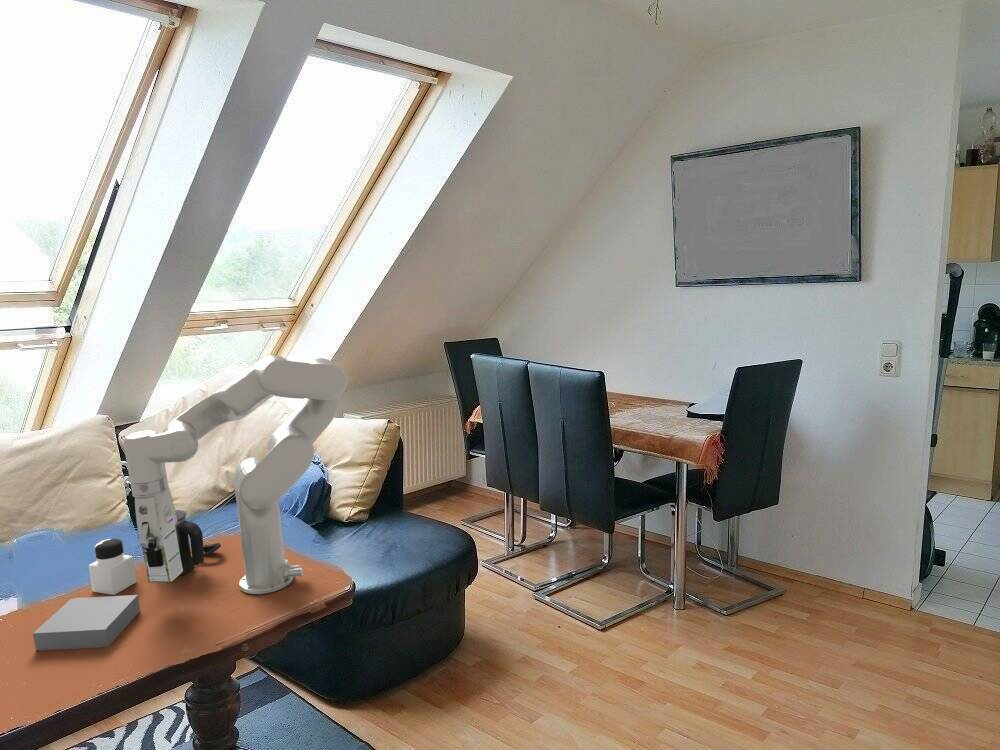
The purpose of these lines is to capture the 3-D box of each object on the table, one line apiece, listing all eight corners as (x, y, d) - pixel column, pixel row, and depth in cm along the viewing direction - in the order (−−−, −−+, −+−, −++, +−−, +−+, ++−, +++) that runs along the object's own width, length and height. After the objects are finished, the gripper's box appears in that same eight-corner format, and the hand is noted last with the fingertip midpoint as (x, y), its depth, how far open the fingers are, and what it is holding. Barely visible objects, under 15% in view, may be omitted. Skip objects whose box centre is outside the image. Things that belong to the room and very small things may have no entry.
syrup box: (184, 571, 173) (174, 513, 170) (170, 583, 168) (160, 523, 165) (161, 571, 174) (151, 514, 171) (147, 583, 168) (136, 524, 165)
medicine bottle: (137, 582, 184) (130, 537, 182) (114, 595, 178) (107, 549, 175) (115, 579, 187) (108, 534, 184) (91, 592, 180) (84, 546, 178)
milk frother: (148, 579, 186) (140, 524, 183) (175, 552, 201) (168, 501, 198) (204, 577, 186) (197, 521, 183) (227, 550, 201) (220, 499, 198)
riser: (140, 610, 170) (137, 594, 169) (108, 646, 155) (105, 629, 154) (74, 614, 169) (71, 598, 169) (35, 650, 155) (32, 633, 154)
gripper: (149, 498, 158) (163, 575, 161) (181, 471, 175) (193, 542, 178) (114, 501, 158) (129, 578, 161) (149, 474, 175) (162, 544, 178)
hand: (162, 558), depth 170 cm, fingers closed on syrup box, 6 cm apart
